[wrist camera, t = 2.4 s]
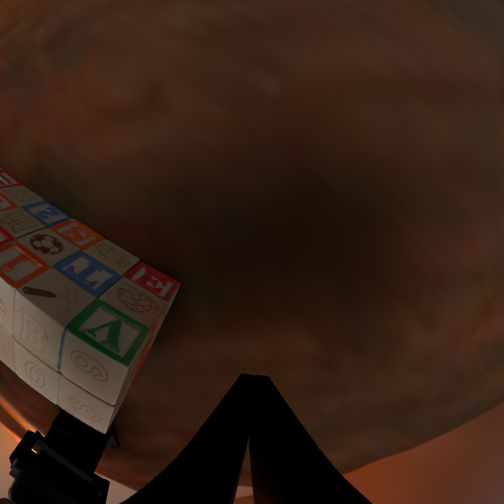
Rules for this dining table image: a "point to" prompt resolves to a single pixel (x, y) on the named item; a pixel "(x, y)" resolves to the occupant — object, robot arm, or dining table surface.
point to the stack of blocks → (73, 307)
